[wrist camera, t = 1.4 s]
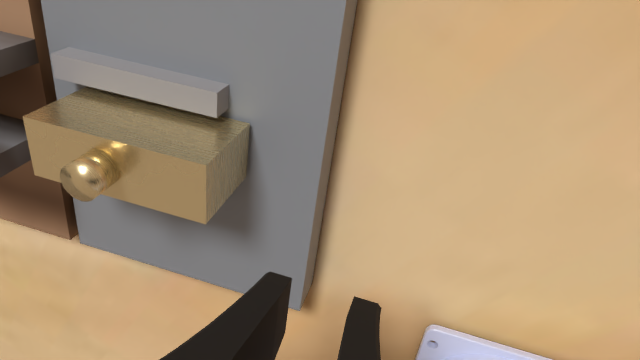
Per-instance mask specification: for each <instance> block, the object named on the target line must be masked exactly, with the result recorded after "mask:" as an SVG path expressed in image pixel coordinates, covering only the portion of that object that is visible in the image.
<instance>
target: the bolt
mask: <svg viewBox="0 0 640 360" xmlns="http://www.w3.org/2000/svg"><path fill="white" fill-rule="evenodd" d="M23 121H24V126H25V131H26V136H27V141H28V145H29V150H30V155H31V160H32V165H33V170H34V175H36V176H39V177H43V178H46V179H50V180H53V181H57V182H60V183H62V185H63V187H64V189H65V190H66V191H67V192H68V193H69V194H70V195H71V196H72V197H74V198H75V199H77V200H80V201H83V202H89V201H92V200H93V199H95V198H96V197H97V196H99V195H100V194H102V195H105V196H109V197H112V198H116V199H119V200H123V201H126V202H130V203H133V204H137V205H140V206H144V207H147V208H151V209H154V210H157V211H161V212H164V213H168V214H171V215H175V216H178V217H182V218H185V219H189V220H192V221H196V222H199V223H203V224H207V222H208V221H209V220H210V219H211V218H212V216H213V215H214V214H215V213H216V212H217V211H218V209H219V208H220V207H221V206H222V205H223V204H224V202H225V201H226V200H227V199H228V198H229V196H230V195H231V194H232V193H233V192H234V191H235V189H236V188H237V187H238V186H239V185H240V184H241V182H242V181H243V180H244V179H245V178H246V176H247V162H248V145H249V128H250V123H246V122H242V121H238V120H234V119H230V118H226V117H222V116H219V117H218V118H214V117H210V116H206V115H202V114H198V113H194V112H190V111H186V110H182V109H178V108H174V107H170V106H166V105H162V104H158V103H153V102H149V101H145V100H141V99H137V98H133V97H129V96H125V95H121V94H117V93H113V92H109V91H105V90H101V89H97V88H93V87H89V86H87V87H84V88H82V89H80V90H78V91H76V92H74V93H72V94H70V95H67V96H65V97H63V98H61V99H59V100H57V101H55V102H52V103H50V104H48V105H46V106H44V107H42V108H40V109H38V110H35V111H33V112H31V113H29V114H27V115H25V116H23Z"/></svg>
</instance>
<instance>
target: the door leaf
mask: <svg viewBox="0 0 640 360" xmlns="http://www.w3.org/2000/svg"><path fill="white" fill-rule="evenodd" d="M41 5H42V11H43V17H44V23H45V29H46V36H47V42H48V48H49V54H50V60H51V66H52V73H53V79H54V85H55V91H56V97H57V100H59V99H61V98H63V97H65V96H67V95H70V94H72V93H74V92H76V91H78V90H80V89H82V88H84V87H87V86H89V87H93V88H97V89H101V90H105V91H109V92H113V93H117V94H121V95H125V96H129V97H133V98H137V99H141V100H145V101H149V102H153V103H158V104H162V105H166V106H170V107H174V108H178V109H182V110H186V111H190V112H194V113H198V114H202V115H206V116H210V117H214V118H218V117H219V116H222V117H226V118H230V119H234V120H238V121H242V122H246V123H250V128H249V145H248V162H247V176H246V178H245V179H244V180H243V181H242V182H241V184H240V185H239V186H238V187H237V188H236V189H235V191H234V192H233V193H232V194H231V195H230V196H229V198H228V199H227V200H226V201H225V202H224V204H223V205H222V206H221V207H220V208H219V209H218V211H217V212H216V213H215V214H214V215H213V216H212V218H211V219H210V220H209V221H208V222H207V224H203V223H199V222H196V221H192V220H189V219H185V218H182V217H178V216H175V215H171V214H168V213H164V212H161V211H157V210H154V209H151V208H147V207H144V206H140V205H137V204H133V203H130V202H126V201H123V200H119V199H116V198H112V197H109V196H105V195H102V194H100V195H99V196H97V197H96V198H95V199H93V200H92V201H89V202H83V201H80V200H77V199H75V198H74V197H73V202H74V208H75V214H76V220H77V226H78V232H79V239H80V243H82V244H85V245H88V246H91V247H95V248H98V249H101V250H104V251H108V252H111V253H114V254H117V255H120V256H124V257H127V258H130V259H133V260H137V261H140V262H143V263H146V264H149V265H153V266H156V267H159V268H162V269H166V270H169V271H172V272H175V273H178V274H182V275H185V276H188V277H191V278H195V279H198V280H201V281H204V282H208V283H211V284H214V285H217V286H220V287H224V288H227V289H230V290H233V291H237V292H240V293H243V294H245V293H246V292H247V291H248V290H249V289H250V288H251V287H253V286H254V285H255V284H256V283H257V282H258V281H259V280H260V279H261V278H262V277H263V276H264V275H265V274H266V273H268V272H274V273H277V274H281V275H284V276H287V277H291V278H292V283H291V291H290V298H289V306H288V308H291V309H295V310H298V311H300V309H301V307H302V305H303V303H304V300H305V298H306V296H307V294H308V291H309V289H310V287H311V284H312V279H313V273H314V267H315V261H316V255H317V248H318V242H319V236H320V230H321V224H322V217H323V211H324V205H325V199H326V193H327V186H328V180H329V174H330V168H331V162H332V155H333V149H334V143H335V137H336V130H337V124H338V118H339V112H340V106H341V99H342V93H343V87H344V81H345V75H346V68H347V62H348V56H349V50H350V44H351V37H352V31H353V25H354V19H355V13H356V6H357V0H41Z"/></svg>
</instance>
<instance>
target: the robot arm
mask: <svg viewBox="0 0 640 360" xmlns="http://www.w3.org/2000/svg"><path fill="white" fill-rule="evenodd" d="M291 283H292V278H291V277H287V276H284V275H281V274H277V273H274V272H268V273H266V274H265V275H264V276H263V277H262V278H261V279H260V280H259V281H258V282H257V283H256V284H255V285H254V286H253V287H251V288H250V289H249V290H248V291H247V292H246V293H245V294H244V295H243V296H242V297H241V298H239V299H238V300H237V301H236V302H235V303H234V304H233V305H232V306H230V307H229V308H228V309H227V310H226V311H224V312H223V313H222V314H221V315H220V316H218V317H217V318H216V319H215V320H214V321H212V322H211V323H210V324H209V325H207V326H206V327H205V328H203V329H202V330H201V331H199V332H198V333H197V334H195V335H194V336H193V337H191V338H190V339H189V340H187V341H186V342H185V343H183V344H182V345H180V346H179V347H178V348H176V349H175V350H173V351H172V352H170V353H169V354H167V355H166V356H164V357H163V358H161V359H160V360H275V357H276V355H277V352H278V350H279V347H280V344H281V342H282V339H283V336H284V334H285V329H286V321H287V313H288V306H289V298H290V291H291ZM380 312H381V307H380V306H379V304H378V303H374V302H371V301H368V300H364V299H361V298H358V297H354V299H353V301H352V304H351V307H350V310H349V313H348V315H347V319H346V323H345V328H344V332H343V337H342V341H341V346H340V350H339V355H338V359H337V360H381V357H380V340H379V323H380ZM430 341H435V343H434V342H430ZM415 360H552V359H549V358H546V357H542V356H539V355H536V354H532V353H529V352H526V351H522V350H519V349H516V348H512V347H509V346H506V345H502V344H499V343H496V342H492V341H489V340H486V339H482V338H479V337H476V336H472V335H469V334H466V333H462V332H459V331H456V330H452V329H449V328H446V327H442V326H439V325H430V326H428V327H427V328H426V329H425V332H424V335H423V338H422V341H421V344H420V346H419V349H418V352H417V355H416V358H415Z"/></svg>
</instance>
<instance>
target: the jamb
mask: <svg viewBox="0 0 640 360" xmlns="http://www.w3.org/2000/svg"><path fill="white" fill-rule="evenodd" d="M55 101H57V97H56V91H55V85H54V79H53V73H52V66H51V60H50V54H49V48H48V42H47V36H46V29H45V23H44V17H43V11H42V5H41V0H0V218H1V219H4V220H7V221H11V222H14V223H17V224H20V225H24V226H27V227H30V228H33V229H37V230H40V231H43V232H46V233H49V234H53V235H56V236H59V237H62V238H66V239H69V240H71V239H72V238H73V237H74V236H76V235H77V234H78V233H79V232H78V226H77V220H76V214H75V208H74V202H73V197H72V196H71V195H70V194H69V193H68V192H67V191H66V190H65V189H64V187H63V185H62V183H60V182H57V181H53V180H50V179H46V178H43V177H39V176H36V175H34V170H33V165H32V160H31V155H30V150H29V145H28V141H27V136H26V131H25V126H24V121H23V116H25V115H27V114H29V113H31V112H33V111H35V110H38V109H40V108H42V107H44V106H46V105H48V104H50V103H52V102H55Z"/></svg>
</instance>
